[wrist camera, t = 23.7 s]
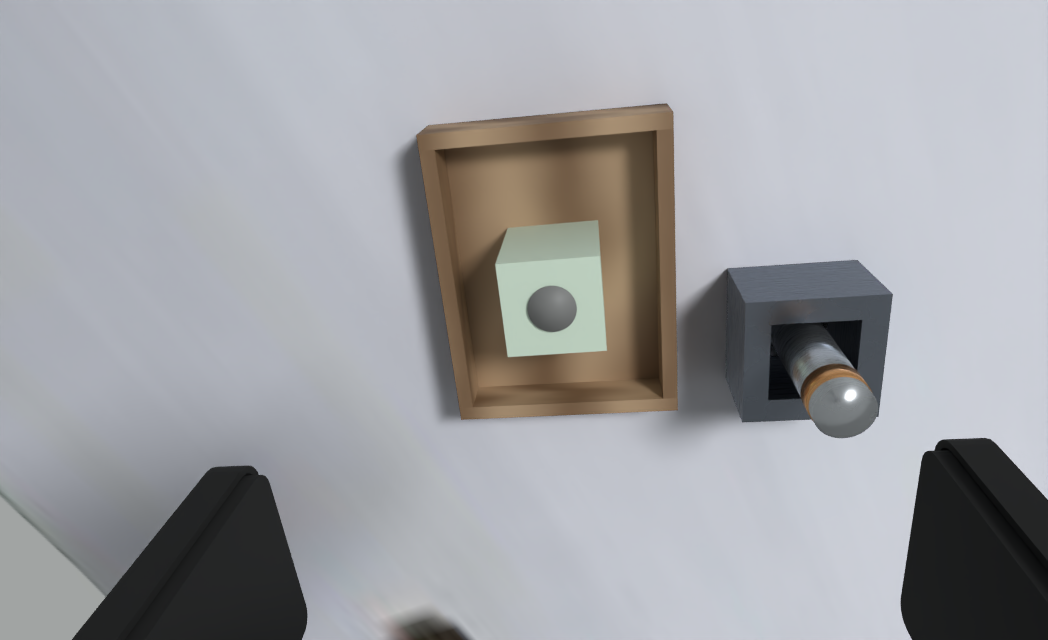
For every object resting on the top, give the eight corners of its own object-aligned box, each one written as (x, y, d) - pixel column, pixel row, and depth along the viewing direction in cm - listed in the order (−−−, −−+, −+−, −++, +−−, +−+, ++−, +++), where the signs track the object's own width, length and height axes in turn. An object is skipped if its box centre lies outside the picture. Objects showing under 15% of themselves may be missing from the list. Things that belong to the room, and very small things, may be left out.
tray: (468, 394, 45) (461, 419, 42) (428, 125, 38) (416, 135, 35) (671, 384, 43) (677, 410, 41) (666, 103, 37) (673, 111, 34)
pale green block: (518, 310, 41) (507, 358, 36) (507, 227, 39) (494, 265, 34) (604, 304, 41) (606, 352, 35) (597, 220, 39) (600, 257, 33)
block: (725, 377, 43) (742, 422, 38) (727, 268, 40) (745, 302, 35) (846, 371, 42) (878, 416, 37) (857, 260, 39) (892, 294, 35)
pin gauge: (761, 344, 42) (809, 440, 33) (763, 299, 41) (814, 385, 31) (812, 342, 41) (875, 438, 32) (815, 295, 40) (882, 382, 31)
